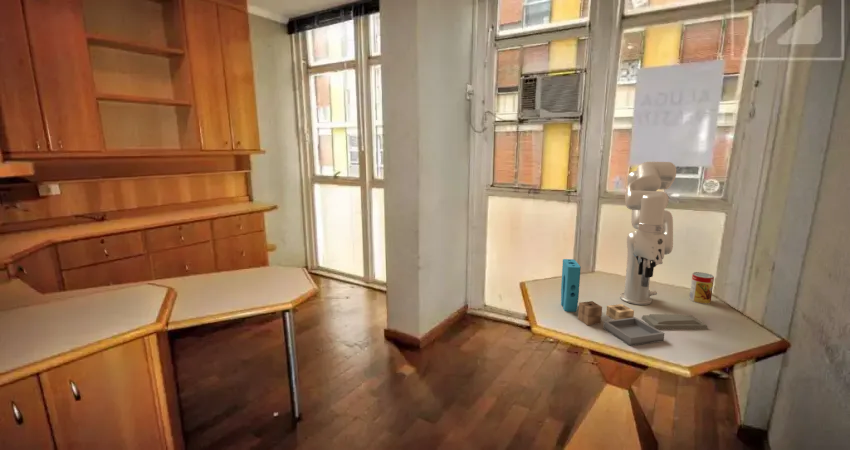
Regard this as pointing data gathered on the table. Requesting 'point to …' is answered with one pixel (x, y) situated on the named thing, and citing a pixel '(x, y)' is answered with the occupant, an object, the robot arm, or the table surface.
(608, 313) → the oak block
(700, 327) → the soap mold
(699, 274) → the canned food
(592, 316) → the walnut block
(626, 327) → the tray
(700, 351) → the table surface
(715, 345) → the table surface
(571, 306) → the block
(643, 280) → the gauge pin
